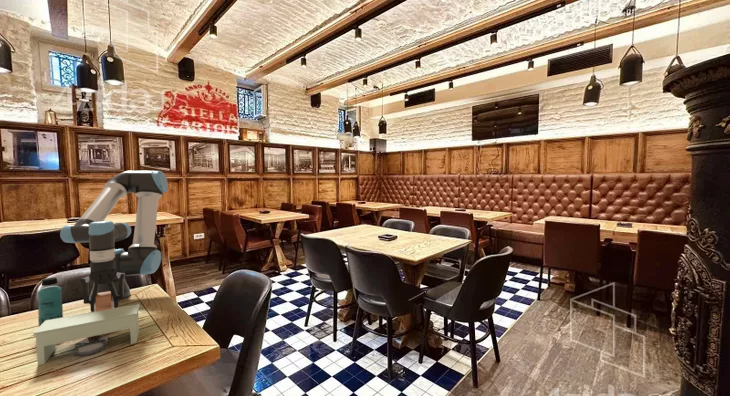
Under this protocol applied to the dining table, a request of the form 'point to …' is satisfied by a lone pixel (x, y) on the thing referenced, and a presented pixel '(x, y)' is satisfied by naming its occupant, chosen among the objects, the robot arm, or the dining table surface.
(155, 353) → the dining table surface
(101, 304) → the paddle
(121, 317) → the shelf
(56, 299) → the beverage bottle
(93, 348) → the puck
